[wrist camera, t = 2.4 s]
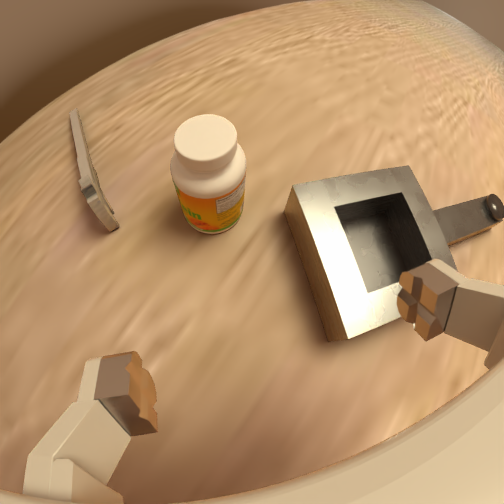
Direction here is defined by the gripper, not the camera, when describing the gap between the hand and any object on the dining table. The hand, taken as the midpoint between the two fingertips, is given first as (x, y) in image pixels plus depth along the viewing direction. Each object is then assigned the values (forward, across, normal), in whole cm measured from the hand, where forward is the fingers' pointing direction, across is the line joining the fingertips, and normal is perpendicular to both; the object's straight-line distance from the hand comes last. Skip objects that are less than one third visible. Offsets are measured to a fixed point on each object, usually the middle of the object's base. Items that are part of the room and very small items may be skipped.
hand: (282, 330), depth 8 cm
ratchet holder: (+14, -19, +8) cm, 25 cm away
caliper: (+27, +12, -5) cm, 30 cm away
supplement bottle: (+20, 0, +2) cm, 20 cm away
